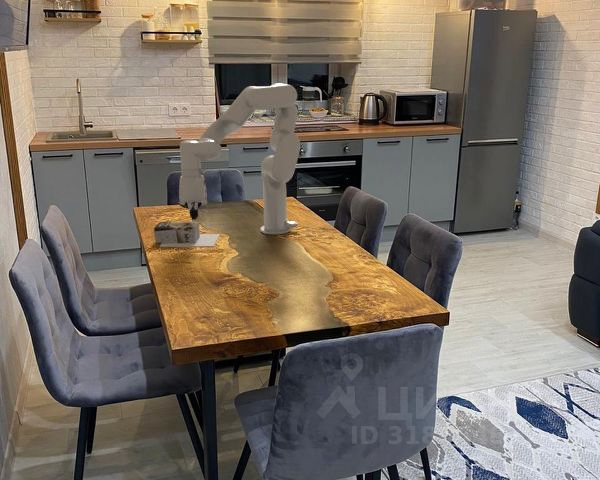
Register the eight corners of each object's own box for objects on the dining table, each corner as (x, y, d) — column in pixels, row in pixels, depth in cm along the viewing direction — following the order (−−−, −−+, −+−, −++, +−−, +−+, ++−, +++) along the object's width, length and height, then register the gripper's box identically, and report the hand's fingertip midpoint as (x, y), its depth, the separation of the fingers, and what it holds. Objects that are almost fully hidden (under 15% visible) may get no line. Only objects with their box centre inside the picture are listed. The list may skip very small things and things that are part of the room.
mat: (220, 234, 244) (220, 234, 244) (213, 246, 229) (213, 246, 229) (169, 234, 245) (169, 234, 245) (159, 246, 230) (159, 245, 230)
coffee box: (194, 227, 231) (153, 227, 231) (195, 243, 233) (154, 243, 233) (199, 221, 239) (159, 221, 239) (199, 236, 241) (160, 236, 242)
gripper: (212, 171, 232) (214, 216, 238) (174, 171, 233) (177, 216, 238) (209, 174, 225) (211, 221, 231) (169, 174, 226) (173, 221, 231)
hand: (194, 218), depth 234 cm, fingers closed
